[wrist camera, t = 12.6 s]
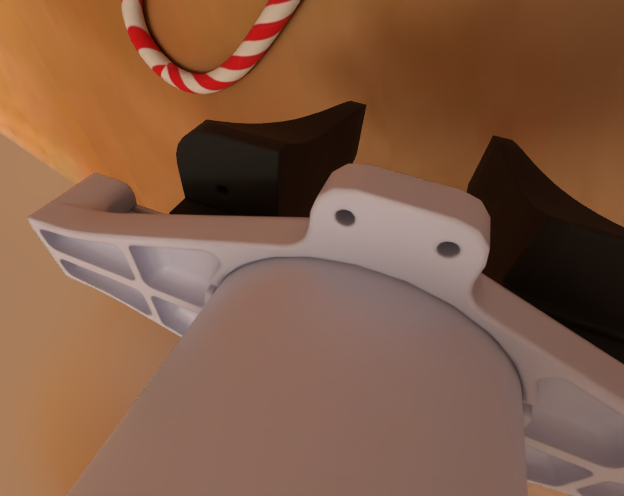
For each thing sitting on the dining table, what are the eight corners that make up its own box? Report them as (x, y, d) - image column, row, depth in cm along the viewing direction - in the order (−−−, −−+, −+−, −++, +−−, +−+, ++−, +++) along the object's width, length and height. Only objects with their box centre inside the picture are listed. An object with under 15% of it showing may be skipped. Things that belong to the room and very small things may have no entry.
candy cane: (362, -1, 16) (180, 118, 25) (369, -5, 17) (191, 111, 26) (274, -228, 13) (97, 3, 21) (288, -219, 14) (113, 0, 22)
